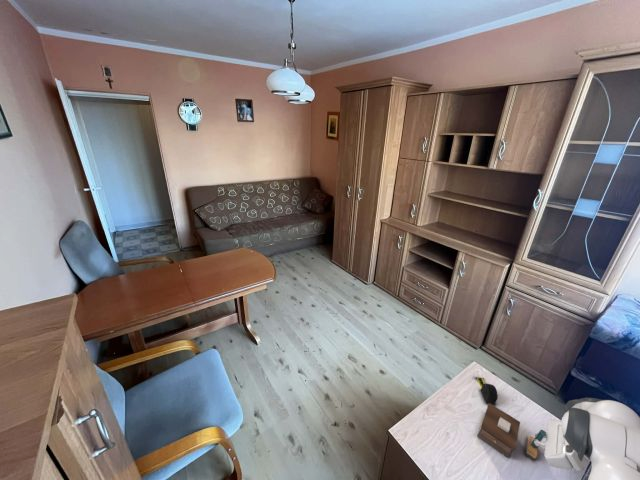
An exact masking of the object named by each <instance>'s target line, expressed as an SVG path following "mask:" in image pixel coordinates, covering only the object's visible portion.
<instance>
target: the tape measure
mask: <svg viewBox="0 0 640 480" xmlns="http://www.w3.org/2000/svg"><path fill="white" fill-rule="evenodd" d="M475 379H476V380H477V382H478V384H479V386H480V393H481V395H482V398H483V401H484V403H485V404H486V405H488V404H489V403H490V404H492V405H494V406H495V405H496V403H497V400H498V397H499V396H498V389H497V387H496V386H495V385H494V384H490V383H488V382H487V383H486V382H485V380H484V377H483V378H482V377H478V376H475Z"/></svg>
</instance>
